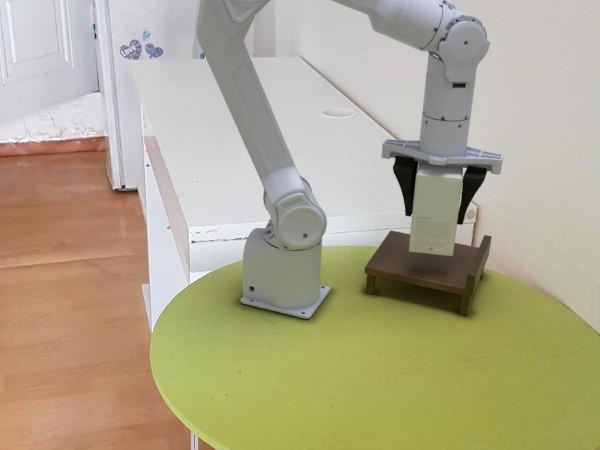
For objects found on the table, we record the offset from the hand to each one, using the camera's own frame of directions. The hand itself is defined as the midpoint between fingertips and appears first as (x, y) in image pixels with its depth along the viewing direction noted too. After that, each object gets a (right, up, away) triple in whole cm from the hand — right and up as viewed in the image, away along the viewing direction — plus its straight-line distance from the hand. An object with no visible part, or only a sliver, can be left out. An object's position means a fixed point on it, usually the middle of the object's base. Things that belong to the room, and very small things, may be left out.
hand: (434, 217), depth 96 cm
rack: (0, -9, +5) cm, 10 cm away
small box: (0, -3, +2) cm, 4 cm away
